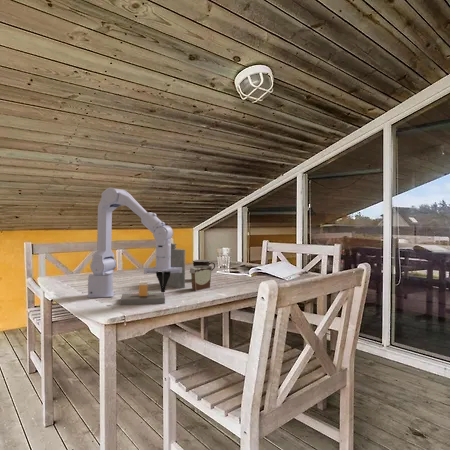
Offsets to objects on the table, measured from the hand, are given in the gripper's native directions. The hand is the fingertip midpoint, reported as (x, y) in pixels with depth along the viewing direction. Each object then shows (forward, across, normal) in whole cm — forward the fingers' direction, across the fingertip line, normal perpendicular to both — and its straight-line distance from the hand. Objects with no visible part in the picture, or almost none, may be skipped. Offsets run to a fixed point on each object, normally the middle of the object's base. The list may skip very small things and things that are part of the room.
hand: (162, 291), depth 136 cm
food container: (+4, +17, +20) cm, 26 cm away
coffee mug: (+4, +23, +42) cm, 48 cm away
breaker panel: (+3, -8, 0) cm, 8 cm away
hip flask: (+4, +6, +29) cm, 30 cm away
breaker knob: (+1, -7, 0) cm, 8 cm away
